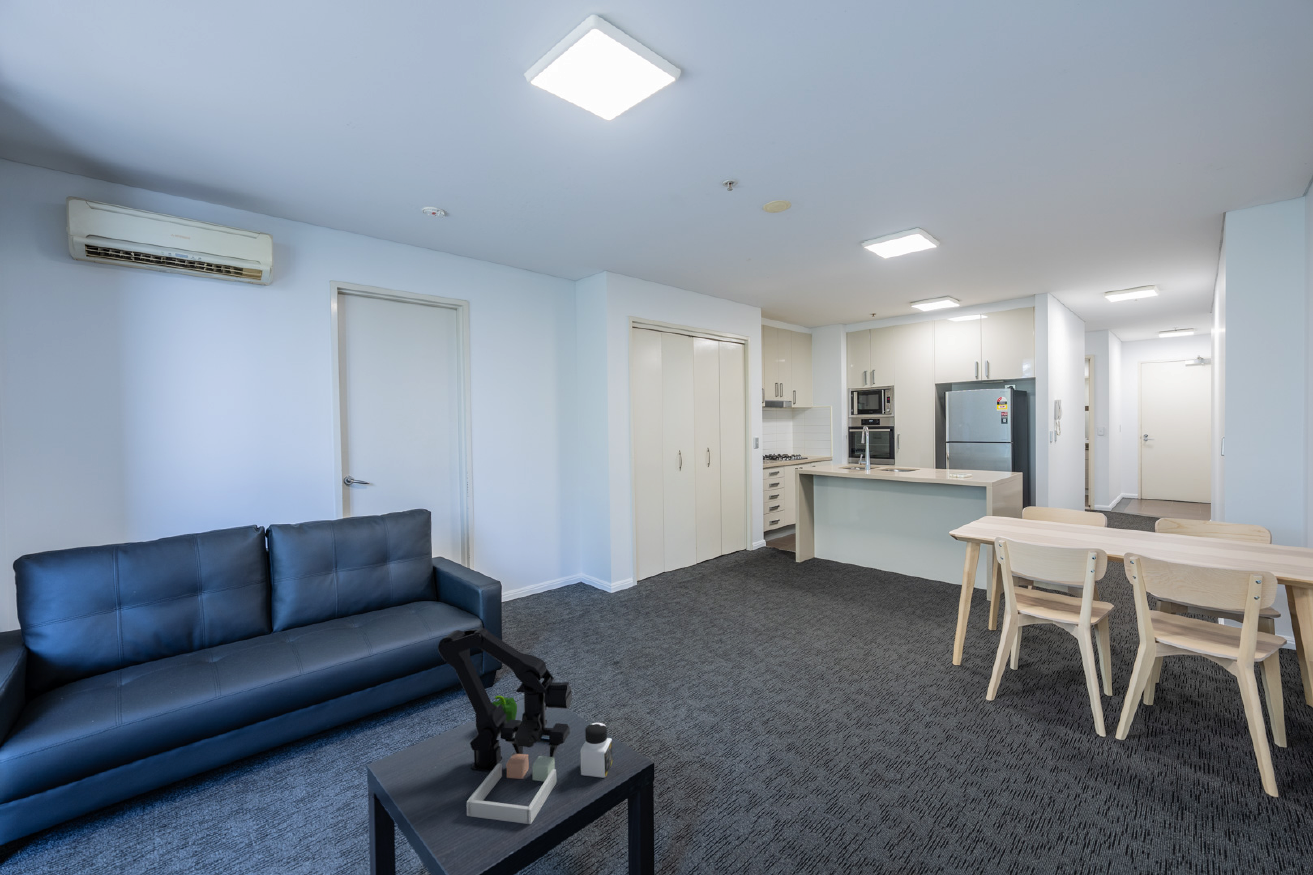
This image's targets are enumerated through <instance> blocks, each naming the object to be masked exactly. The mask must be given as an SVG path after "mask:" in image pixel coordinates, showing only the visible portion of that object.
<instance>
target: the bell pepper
mask: <svg viewBox="0 0 1313 875" xmlns="http://www.w3.org/2000/svg"><path fill="white" fill-rule="evenodd" d="M494 698H495V700H497V701H495V700H494V701H491V702H492V703H493V704H494V705H495V706H498V705H500V704H501V705H502V707H503V711H504V712H505V714H506V715H507V717H506V720H507V722H508V721H509V720H517V719H516V718H517V713H518V704H517V702H516V701H515V698H514V697H506V696H505V697H504V696H502V695H495V696H494Z"/></svg>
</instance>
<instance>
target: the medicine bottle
mask: <svg viewBox="0 0 1313 875" xmlns="http://www.w3.org/2000/svg"><path fill="white" fill-rule="evenodd" d="M584 733H585V734H584V735H585V736H584V737H585V742H584V744H583V745H582V747H581V748H580V750H579V752H580V775H581V776H584V777H585V776H586V777H594V778H604V779H605V778H606V777H607V775H608V773H609V771H610V769H611V766H612V764H613V739H612V738H610V737H608V727H607V726H606V724H604V723H601V722H593V723H590V724H589V725H588V724H587V726H586V727H585V731H584Z"/></svg>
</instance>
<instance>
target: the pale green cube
mask: <svg viewBox="0 0 1313 875" xmlns="http://www.w3.org/2000/svg"><path fill="white" fill-rule="evenodd" d="M555 759H556V758H555V756H554V757H550V756H546V755H539V756H538V757H537V759H536V760H535V761H534V762H533V764H532V766H531V767H532V770H531V771H532V781H539V782H545V780H546V779H547V777H548V776H549V774H550V773H551V771H552V769H556V765H555V764H556V763H555Z"/></svg>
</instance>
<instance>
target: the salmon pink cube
mask: <svg viewBox="0 0 1313 875" xmlns="http://www.w3.org/2000/svg"><path fill="white" fill-rule="evenodd" d="M529 763H530V762H529V754H528V753H527V754H525V753H523V754H516V753H512V755H511V756H510V757H509V758H508V760H507V762H506V778H508V779H520V780H521V779H522V780H523V779H524V778H525V775H526V774H527V772H528V771H529V769H530V768H529V766H530V765H529Z"/></svg>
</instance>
